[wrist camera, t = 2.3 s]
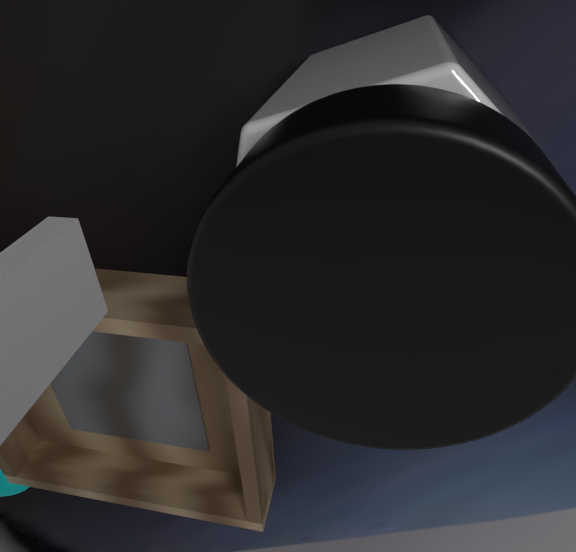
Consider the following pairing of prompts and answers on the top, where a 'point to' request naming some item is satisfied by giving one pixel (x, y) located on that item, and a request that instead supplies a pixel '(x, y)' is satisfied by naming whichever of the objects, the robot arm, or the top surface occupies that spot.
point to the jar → (390, 251)
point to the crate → (147, 416)
